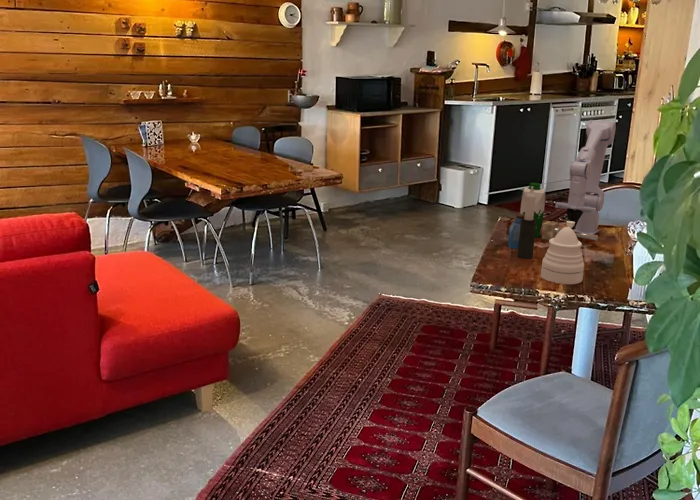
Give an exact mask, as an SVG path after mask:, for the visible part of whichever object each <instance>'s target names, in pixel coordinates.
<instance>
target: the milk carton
mask: <svg viewBox="0 0 700 500" xmlns="http://www.w3.org/2000/svg"><path fill="white" fill-rule="evenodd" d="M532 186H533V191H534V194H535V196H536V198H535V207H534V216H533V219H535V220H536V231H535V239H536V238H537V239H538V238H539V237H540V234H541V230H542V228H543V223H544V212H545V203H546V189H545V188H541V183H539V182H530V183H529V187H526V186H525V187H524V188H523V191H522V194H521V202H520V212H519V214H524V215H525V209H526V200H527V195H528V194H529V192H530V190H531V187H532ZM524 218H525V217H524Z"/></svg>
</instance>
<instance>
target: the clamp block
mask: <svg viewBox="0 0 700 500" xmlns="http://www.w3.org/2000/svg"><path fill="white" fill-rule="evenodd" d="M558 226H559V222H555V221H549V220H547V221H545V222H542V233H541V239H542V240H548V241H549V240H550V239H552V238H555V236H556V235H557V234H558V233H554V230H555V228H559V227H558Z"/></svg>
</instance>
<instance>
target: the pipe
mask: <svg viewBox="0 0 700 500" xmlns="http://www.w3.org/2000/svg"><path fill="white" fill-rule="evenodd" d="M561 229H562V228H559V227H558V228H555V230H554V233H557V234H558V232H559V231H560V230H561ZM574 232H575V234H576V236H577V238H580V239H585V240H592V241H597V242H598V239H599V234H594V235H593V234H587V233H582V232H576V231H574Z"/></svg>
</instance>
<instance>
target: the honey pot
mask: <svg viewBox="0 0 700 500" xmlns="http://www.w3.org/2000/svg"><path fill="white" fill-rule="evenodd" d="M565 224H567V227H565V228H563V227H562V228H560V229H561V230H560V231H559V232H558V233H557V235H556V236H555V238H552V239H550V240H548V243H549V247H548V248H547V249H546V253H545V254H544V257H542V264H541V271H540V277H541V278H542V280H545V281H547V282H550V281H551V283H554V282H555V283H554V284H559V283H562V284H561V285H576V284H580V283H582V282H583V278H584V269H585V262H584V257H583V252H582V251H581V248H582V246H583V243H582V242H581V241H580V240H579V239H578V237H577V236H576V234H575V232H574V231H573V230H572V229H571V228H572V227H573V226H574V224H575V222H573V221H569V220H567V221H566V223H565Z"/></svg>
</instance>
